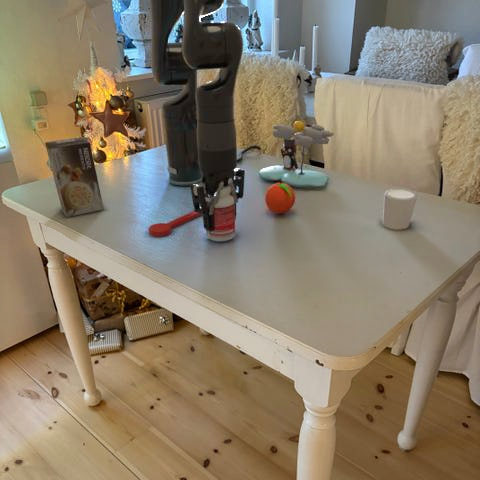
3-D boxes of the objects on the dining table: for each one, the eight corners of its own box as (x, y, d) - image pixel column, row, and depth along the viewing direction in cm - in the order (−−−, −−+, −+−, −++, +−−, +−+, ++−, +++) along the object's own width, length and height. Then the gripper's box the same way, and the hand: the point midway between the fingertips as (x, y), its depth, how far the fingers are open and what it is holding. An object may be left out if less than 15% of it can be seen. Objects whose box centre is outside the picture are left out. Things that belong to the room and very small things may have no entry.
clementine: (303, 215, 114) (304, 185, 110) (278, 222, 111) (279, 191, 107) (283, 204, 119) (284, 175, 115) (259, 210, 116) (259, 181, 112)
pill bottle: (240, 237, 104) (239, 187, 98) (216, 245, 102) (213, 193, 95) (225, 227, 109) (223, 178, 102) (201, 234, 106) (197, 184, 100)
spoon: (197, 209, 118) (197, 204, 117) (212, 214, 115) (212, 209, 115) (144, 233, 107) (144, 228, 107) (159, 239, 105) (159, 233, 104)
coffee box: (97, 201, 123) (85, 135, 114) (104, 210, 119) (91, 142, 109) (60, 209, 120) (44, 141, 111) (65, 218, 115) (49, 148, 106)
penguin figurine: (252, 179, 134) (252, 121, 126) (274, 169, 141) (275, 113, 133) (315, 194, 124) (320, 132, 116) (336, 182, 131) (341, 123, 123)
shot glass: (412, 220, 110) (418, 189, 106) (410, 232, 105) (416, 201, 101) (381, 216, 112) (385, 186, 108) (378, 228, 107) (382, 197, 103)
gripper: (205, 156, 88) (210, 241, 97) (255, 138, 97) (255, 218, 106) (176, 149, 92) (184, 232, 101) (226, 133, 101) (229, 210, 110)
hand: (220, 224), depth 104 cm, fingers closed on pill bottle, 6 cm apart
